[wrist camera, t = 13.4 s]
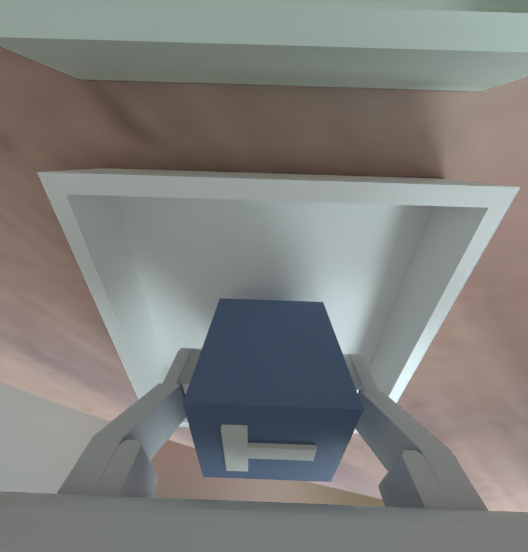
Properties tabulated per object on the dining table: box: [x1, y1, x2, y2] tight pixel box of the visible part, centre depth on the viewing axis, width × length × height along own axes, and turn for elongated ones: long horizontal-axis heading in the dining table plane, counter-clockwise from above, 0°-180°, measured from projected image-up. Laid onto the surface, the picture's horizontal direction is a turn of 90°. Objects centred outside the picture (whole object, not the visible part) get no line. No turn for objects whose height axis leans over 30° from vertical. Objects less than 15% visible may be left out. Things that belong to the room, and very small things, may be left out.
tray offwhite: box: [37, 168, 520, 433], centre depth 11 cm, size 14×14×3 cm
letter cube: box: [183, 298, 364, 482], centre depth 8 cm, size 4×4×5 cm
